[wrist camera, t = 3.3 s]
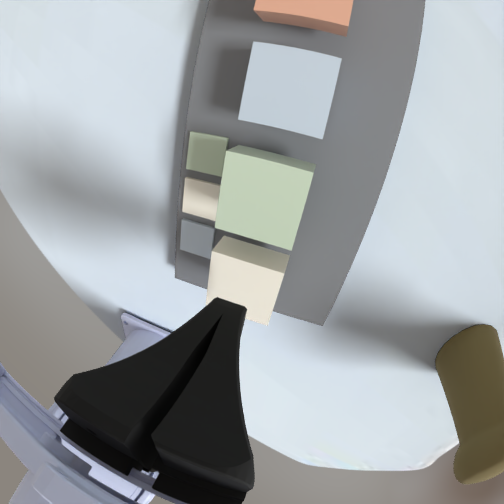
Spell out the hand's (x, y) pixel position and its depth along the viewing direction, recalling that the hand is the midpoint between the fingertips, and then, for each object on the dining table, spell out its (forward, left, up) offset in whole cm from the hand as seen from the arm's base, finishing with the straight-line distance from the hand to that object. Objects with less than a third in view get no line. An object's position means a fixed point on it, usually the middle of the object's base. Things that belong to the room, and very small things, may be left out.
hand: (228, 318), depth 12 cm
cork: (-3, -18, -6) cm, 19 cm away
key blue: (+9, 0, -4) cm, 10 cm away
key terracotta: (+14, 0, -4) cm, 14 cm away
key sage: (+4, 0, -4) cm, 6 cm away
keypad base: (+7, 0, -6) cm, 9 cm away
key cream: (0, 0, -4) cm, 4 cm away
